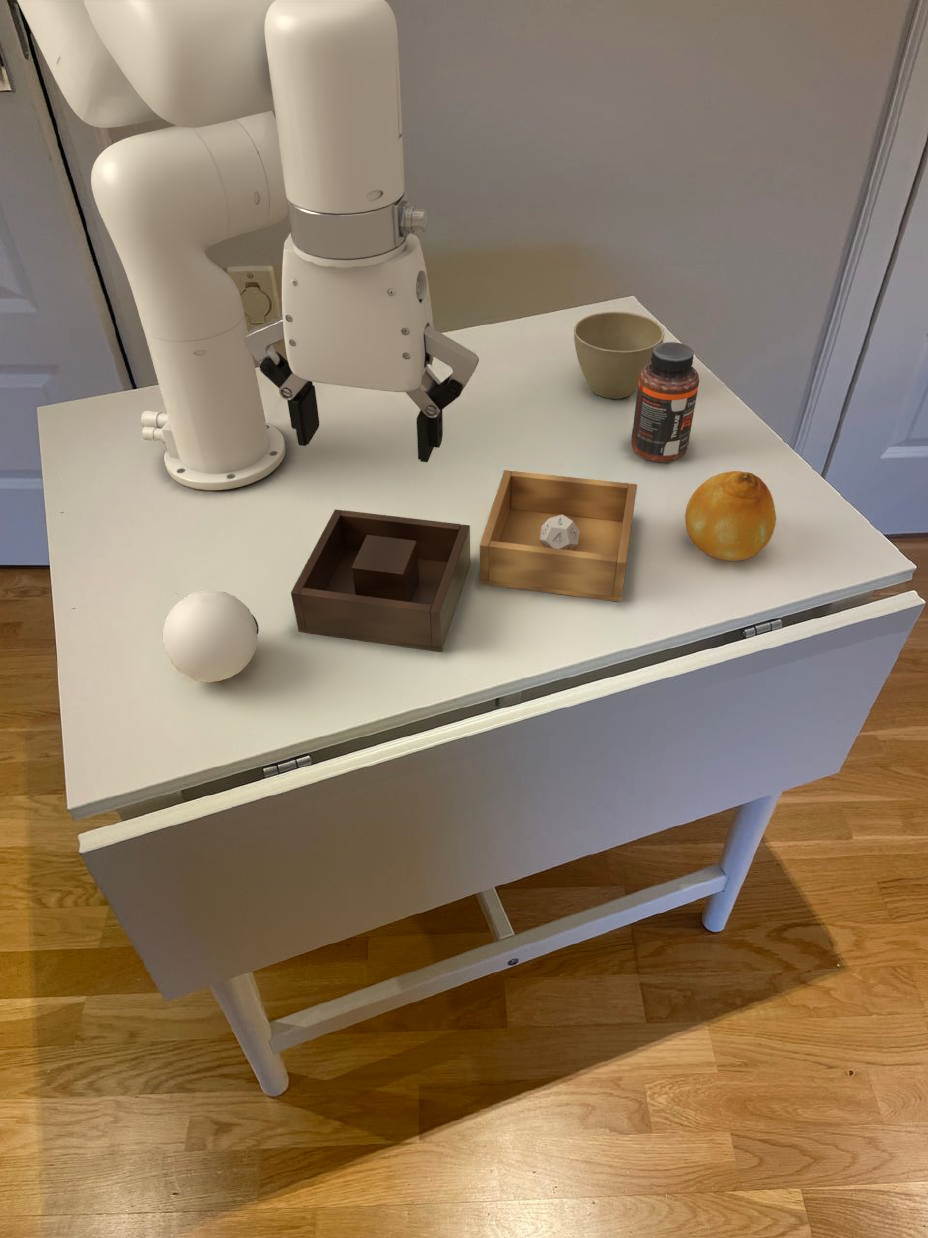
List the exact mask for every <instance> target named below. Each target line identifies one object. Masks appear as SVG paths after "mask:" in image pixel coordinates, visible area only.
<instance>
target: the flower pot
mask: <svg viewBox="0 0 928 1238" xmlns="http://www.w3.org/2000/svg"><path fill="white" fill-rule="evenodd" d="M664 339H665V330H664V328H663V327H662V326H661V324H660V323H658V322H657V321H656V320H654V319H652V318H650V317H647V316H645V315H642V314H638V313H634V312H628V311H603V312H598V313H593V314H590V315H587V316H585V317H582V318H581V319H579V320H578V321H577V323H575V325H574V327H573V341H574V348H575V352H576V357H577V361H578V365H579V367H580V370H581V372H582V374H583V376H584V379H585V381H586V382H587V384H588V386H589V388H590V389H591V391H592V393H594V394H596V395H597V396H599V397H602V398H605V399H611V400H616V399H624V398H627V397H630V396H631V395H632V394H634V392H636V390H638V384H639V377H640V373H641V371H642V369H643V368H644V367H645V366H646V365H648V364H649V363H651V357H652V353H653V349H654V347H655V346H656V345H658V344H661V343H664Z"/></svg>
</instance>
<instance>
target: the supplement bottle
mask: <svg viewBox="0 0 928 1238" xmlns="http://www.w3.org/2000/svg"><path fill="white" fill-rule="evenodd" d="M694 356H695V351H694V349H693V348H692V347H690V345H687V344H685V343H681V342H676V341H666V342H663V343H661V344H658V345H656V346H655V347H654V349H653V353H652V357H651V363H649V364H648V365H646V366H645V367H644V368H643V369H642V371H641V373H640V377H639V384H638V388H637V391H636V400H635V407H634V415H633V424H632V433H631V442H630V443H631V444H630V445H631V448H632V450H633V452H634V453H635V454H636V455H637V456H638V457H640V458H642V459H644V460H646V461H649V462H650V461H651V462H656V463H670V462H674V461H677V460H678V459H680V458H682V457H683V456H684V455H685V454H686V452H687V450H688V447H689V443H690V436H691V431H692V426H693V419H694V413H695V409H696V404H697V397H698V392H699V385H700V376H699V373H698V371H697V369H695V367H693V364H694Z"/></svg>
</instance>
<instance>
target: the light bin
mask: <svg viewBox="0 0 928 1238" xmlns="http://www.w3.org/2000/svg"><path fill="white" fill-rule="evenodd" d="M500 478H501V479H500V482H499V484H498V488H497V491H496V494H495V497H494V500H493V503H492V506H491V509H490V512H489V515H488V517H487V521H486V525H485V528H484V531H483V534H482V536H481V537H482V538H481V540H480V543H479V584H480V585H486V586H494V587H501V588H502V587H503V588H508V589H509V588H510V589H518V590H526V591H534V592H541V593H548V594H556V595H565V596H573V597H581V598H586V599H588V598H589V599H596V600H602V601H611V602H619V603H621V602H622V599H623V591H624V584H625V577H626V570H627V563H628V556H629V550H630V549H629V547H630V541H631V535H632V534H631V533H632V527H633V519H634V512H635V505H636V504H635V503H636V497H637V490H638V484H637V483H628V482H621V481H612V480H600V479H593V478H592V479H591V478H583V477H573V476H563V475H555V474H545V473H538V472H537V473H536V472H535V473H534V472H527V471H519V470H518V471H517V470H510V469H509V470H507V469H504V470H503V473H502V475H501V477H500ZM559 515H564V516H566V517H567V518H569V519H570V520H572V521H573V522H574V523H575V524H576V526H577V527H578V529H579V530H580V534H579V540H578V545H577V546H576V547H574V548H573V549H572V550H563V549H555V548H547V547H545V546H544V545H543V543H542V542H541V541H540V540H539V539H540V534H541V528H542V525H543V524H544V523H545V522H546V521H547V520H548V519H549V518H552V517H555V516H559Z"/></svg>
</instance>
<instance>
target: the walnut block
mask: <svg viewBox="0 0 928 1238" xmlns="http://www.w3.org/2000/svg"><path fill="white" fill-rule="evenodd" d="M352 574H353V581H354V588H355V595H360V596H368V597H375V598H383V599H390V600H398V601H405V602H411V600H412V598H413V595H414V593H415V590H416V587H417V585H418V582H419V567H418V553H417V541H413V540H405V539H397V538H389V537H381V536H373V535H367V536H366V538H365V540H364V542H363V544H362V546H361V549H360V551H359V553H358V555H357V557H356V559H355V561H354V563H353V565H352Z"/></svg>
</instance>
